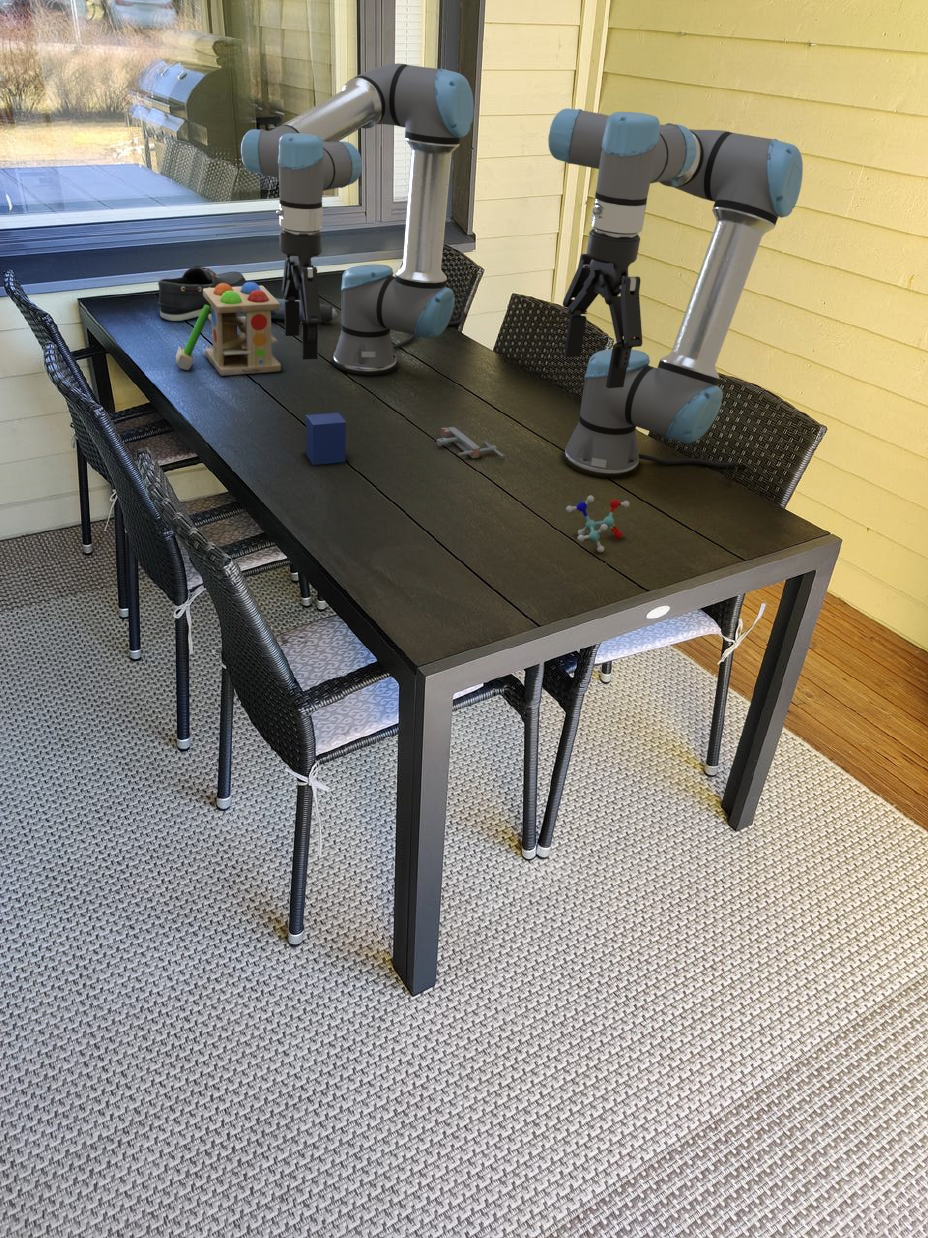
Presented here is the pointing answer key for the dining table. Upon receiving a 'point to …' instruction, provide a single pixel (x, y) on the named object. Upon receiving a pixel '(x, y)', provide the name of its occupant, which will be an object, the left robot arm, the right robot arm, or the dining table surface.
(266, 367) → the pounding bench toy
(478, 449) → the clamp
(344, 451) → the block
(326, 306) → the power drill
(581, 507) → the molecular model
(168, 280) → the boat shoe
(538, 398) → the dining table surface
